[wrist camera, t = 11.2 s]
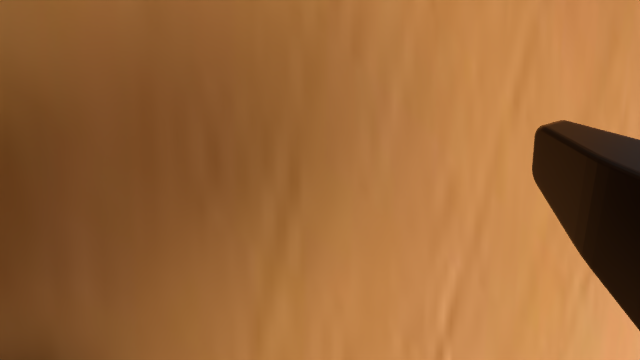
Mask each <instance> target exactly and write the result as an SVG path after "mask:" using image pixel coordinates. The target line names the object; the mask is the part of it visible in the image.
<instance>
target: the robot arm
mask: <svg viewBox="0 0 640 360" xmlns="http://www.w3.org/2000/svg"><path fill="white" fill-rule="evenodd" d="M532 172H533V177H534V180H535V182H536V184H537V186H538V187H539V189H540V191H541V192H542V194H543V195H544V197H545V199H546V200H547V202H548V204H549V205H550V207H551V208H552V210H553V212H554V213H555V215H556V216H557V218H558V220H559V221H560V223H561V225H562V226H563V228H564V229H565V231H566V233H567V234H568V236H569V238H570V239H571V241H572V242H573V244H574V246H575V247H576V249H577V250H578V252H579V253H580V255H581V256H582V257H583V259H584V260H585V261H586V263H587V264H588V265H589V267H590V268H591V269H592V271H593V272H594V273H595V275H596V276H597V277H598V278H599V280H600V281H601V282H602V283H603V285H604V286H605V287H606V289H607V290H608V291H609V292H610V294H611V295H612V296H613V297H614V299H615V300H616V301H617V303H618V304H619V305H620V306H621V308H622V309H623V310H624V311H625V313H626V314H627V315H628V317H629V318H630V319H631V320H632V322H633V323H634V324H635V325H636V327H637V328H638V329H639V331H640V140H638V139H634V138H630V137H627V136H623V135H619V134H615V133H611V132H608V131H604V130H600V129H596V128H592V127H588V126H585V125H581V124H577V123H573V122H569V121H565V120H561V121H557V122H553V123H549V124H546V125H542V126H540V127H539V128H538V129H537V131H536V133H535V140H534V152H533V164H532Z"/></svg>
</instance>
